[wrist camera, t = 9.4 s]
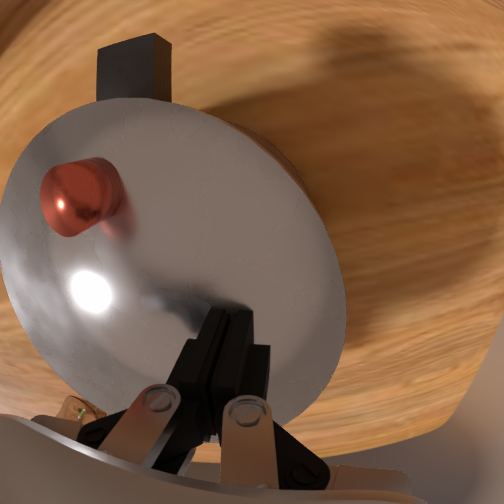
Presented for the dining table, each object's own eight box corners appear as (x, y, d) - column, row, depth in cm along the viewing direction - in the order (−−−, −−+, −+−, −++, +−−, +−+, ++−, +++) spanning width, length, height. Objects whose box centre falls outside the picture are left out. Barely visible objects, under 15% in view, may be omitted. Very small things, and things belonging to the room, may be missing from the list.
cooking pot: (88, 95, 19) (-5, 92, 10) (318, 67, 17) (342, 10, 7) (130, 349, 28) (85, 417, 19) (305, 367, 26) (304, 457, 17)
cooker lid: (-8, 144, 11) (-49, 154, 8) (357, 87, 8) (384, 67, 5) (68, 392, 18) (48, 419, 15) (315, 439, 15) (314, 481, 12)
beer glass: (106, 424, 37) (69, 493, 23) (81, 420, 38) (44, 481, 24) (81, 394, 34) (34, 466, 21) (57, 392, 36) (13, 454, 22)
